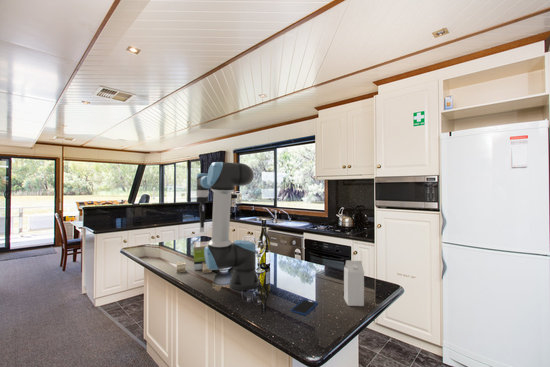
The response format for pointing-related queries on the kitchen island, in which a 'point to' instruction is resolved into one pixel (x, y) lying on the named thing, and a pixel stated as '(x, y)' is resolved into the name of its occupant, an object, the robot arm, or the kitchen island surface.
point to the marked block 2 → (205, 268)
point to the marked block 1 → (181, 267)
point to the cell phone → (304, 307)
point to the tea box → (199, 254)
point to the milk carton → (354, 283)
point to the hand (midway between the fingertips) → (201, 232)
